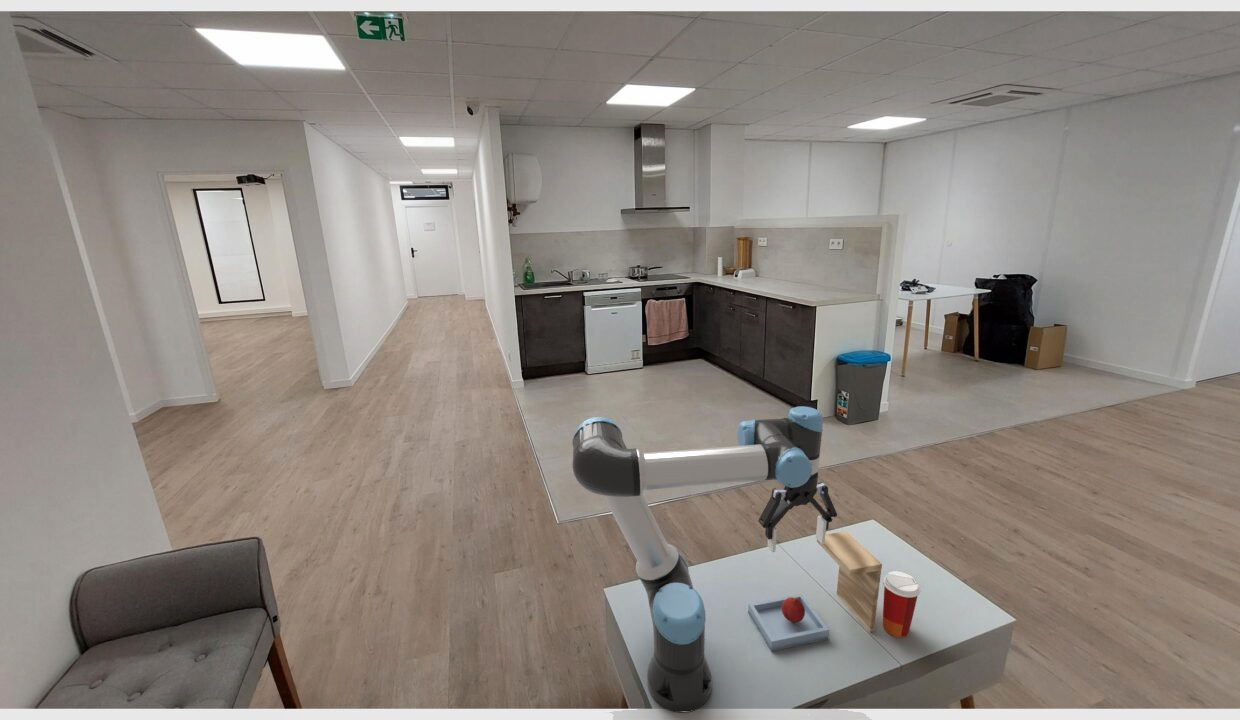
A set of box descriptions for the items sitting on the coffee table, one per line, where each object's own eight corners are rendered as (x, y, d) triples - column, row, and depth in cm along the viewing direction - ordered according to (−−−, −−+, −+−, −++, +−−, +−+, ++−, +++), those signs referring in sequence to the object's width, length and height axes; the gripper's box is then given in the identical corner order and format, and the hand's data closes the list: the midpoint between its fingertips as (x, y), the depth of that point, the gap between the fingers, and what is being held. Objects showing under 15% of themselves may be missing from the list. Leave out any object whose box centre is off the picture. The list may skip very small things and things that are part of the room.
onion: (785, 609, 134) (787, 585, 132) (807, 619, 130) (809, 594, 128) (777, 623, 129) (779, 598, 127) (799, 633, 126) (801, 608, 124)
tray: (771, 651, 122) (771, 641, 122) (748, 612, 135) (748, 603, 134) (828, 639, 125) (829, 629, 124) (800, 602, 137) (801, 593, 137)
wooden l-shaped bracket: (842, 637, 125) (849, 569, 120) (812, 598, 139) (817, 536, 133) (873, 631, 127) (882, 564, 121) (840, 593, 140) (846, 531, 135)
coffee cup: (904, 617, 131) (911, 570, 127) (919, 642, 123) (927, 593, 119) (872, 615, 132) (877, 569, 128) (885, 640, 124) (891, 592, 120)
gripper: (761, 483, 112) (757, 561, 118) (857, 470, 116) (849, 546, 122) (747, 468, 119) (743, 542, 125) (838, 456, 124) (831, 529, 129)
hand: (795, 544), depth 123 cm, fingers open, 13 cm apart
